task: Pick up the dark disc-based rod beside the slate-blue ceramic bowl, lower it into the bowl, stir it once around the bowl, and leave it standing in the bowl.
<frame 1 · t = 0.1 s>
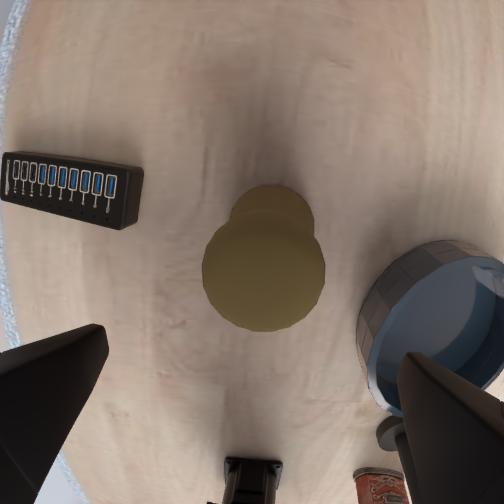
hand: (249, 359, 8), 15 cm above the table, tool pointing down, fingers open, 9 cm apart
dark disc-based rod: (398, 427, 27), on the table
bowl: (434, 322, 23), on the table
lighter: (378, 474, 30), on the table
multiport hub: (69, 182, 23), on the table
olive game pawn: (271, 226, 22), on the table
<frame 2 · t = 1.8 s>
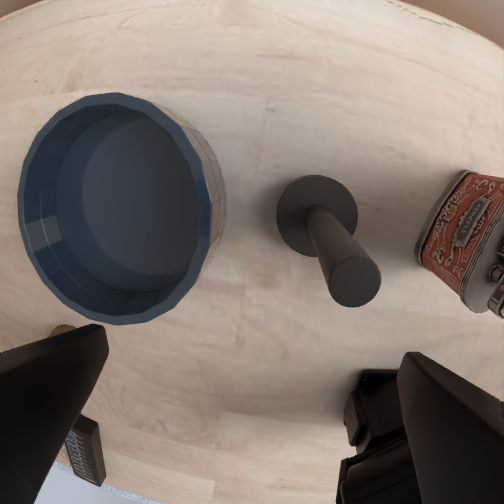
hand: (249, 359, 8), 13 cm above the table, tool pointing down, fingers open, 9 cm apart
dark disc-based rod: (315, 213, 20), on the table
bowl: (127, 203, 21), on the table
lighter: (448, 218, 19), on the table
multiport hub: (88, 446, 31), on the table
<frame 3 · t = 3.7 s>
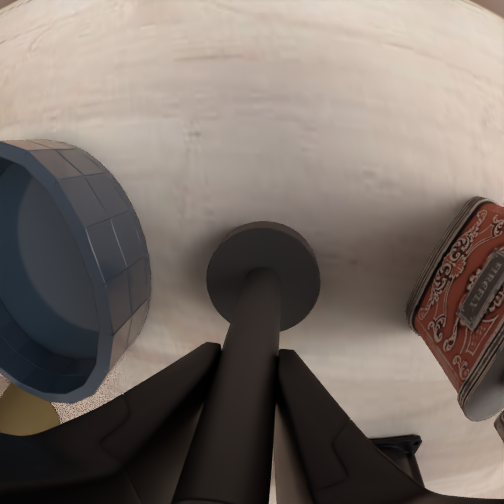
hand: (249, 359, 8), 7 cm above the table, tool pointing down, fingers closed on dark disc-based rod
dark disc-based rod: (264, 272, 15), on the table, touching gripper
bowl: (49, 261, 16), on the table
lighter: (452, 264, 14), on the table
olive game pawn: (35, 403, 21), on the table
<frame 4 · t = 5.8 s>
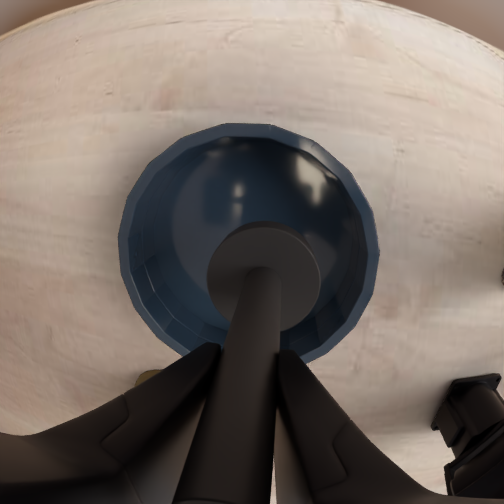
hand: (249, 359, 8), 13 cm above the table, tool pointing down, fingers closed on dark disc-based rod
dark disc-based rod: (265, 272, 15), point 6 cm above the table, touching gripper
bowl: (250, 243, 21), on the table
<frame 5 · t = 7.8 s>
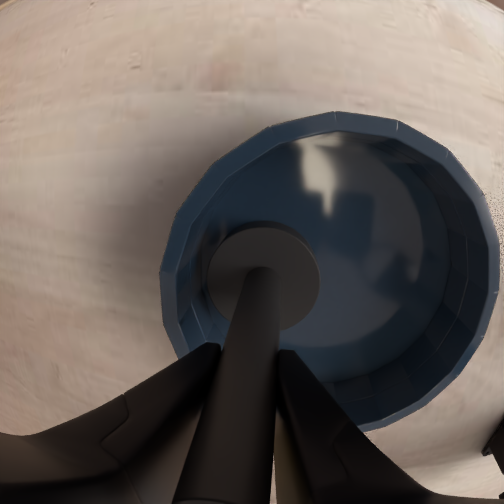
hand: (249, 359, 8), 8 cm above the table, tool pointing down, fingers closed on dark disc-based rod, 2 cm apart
dark disc-based rod: (264, 272, 15), point 1 cm above the table, touching gripper
bowl: (331, 273, 16), on the table
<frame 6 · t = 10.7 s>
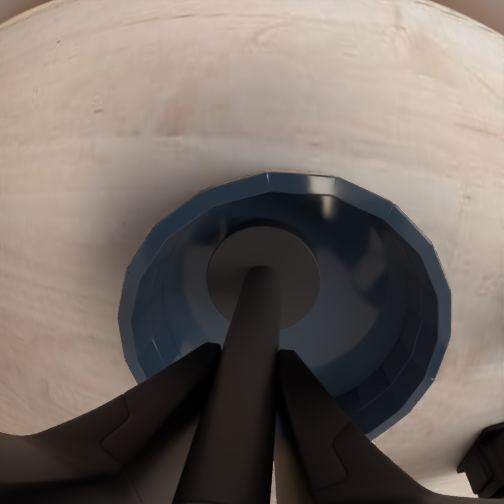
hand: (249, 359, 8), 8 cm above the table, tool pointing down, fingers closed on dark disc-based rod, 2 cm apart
dark disc-based rod: (265, 271, 15), point 1 cm above the table, touching gripper
bowl: (286, 310, 16), on the table
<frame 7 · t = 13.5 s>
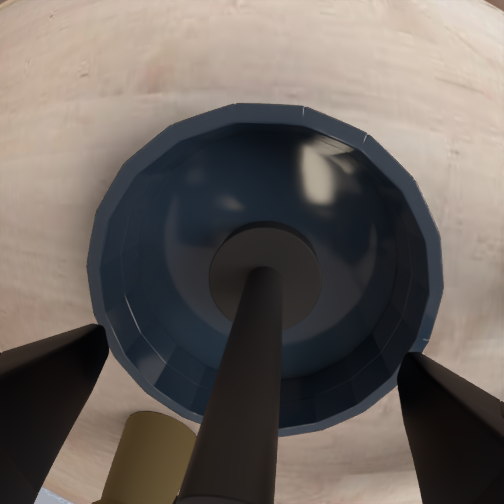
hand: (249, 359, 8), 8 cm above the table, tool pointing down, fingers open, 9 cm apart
dark disc-based rod: (266, 272, 15), point 1 cm above the table, touching bowl
bowl: (266, 269, 16), on the table
olive game pawn: (162, 436, 21), on the table
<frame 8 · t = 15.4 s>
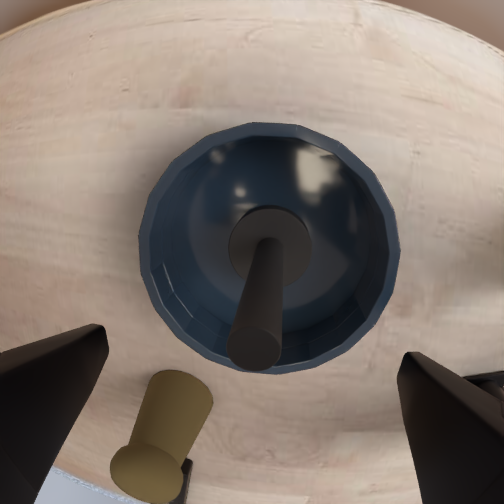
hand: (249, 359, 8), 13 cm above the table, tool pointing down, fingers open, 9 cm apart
dark disc-based rod: (270, 243, 20), point 1 cm above the table, touching bowl
bowl: (270, 242, 21), on the table
multiport hub: (171, 481, 31), on the table
olive game pawn: (180, 394, 26), on the table
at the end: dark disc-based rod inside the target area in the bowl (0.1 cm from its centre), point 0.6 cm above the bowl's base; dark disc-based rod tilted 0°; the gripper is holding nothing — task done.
